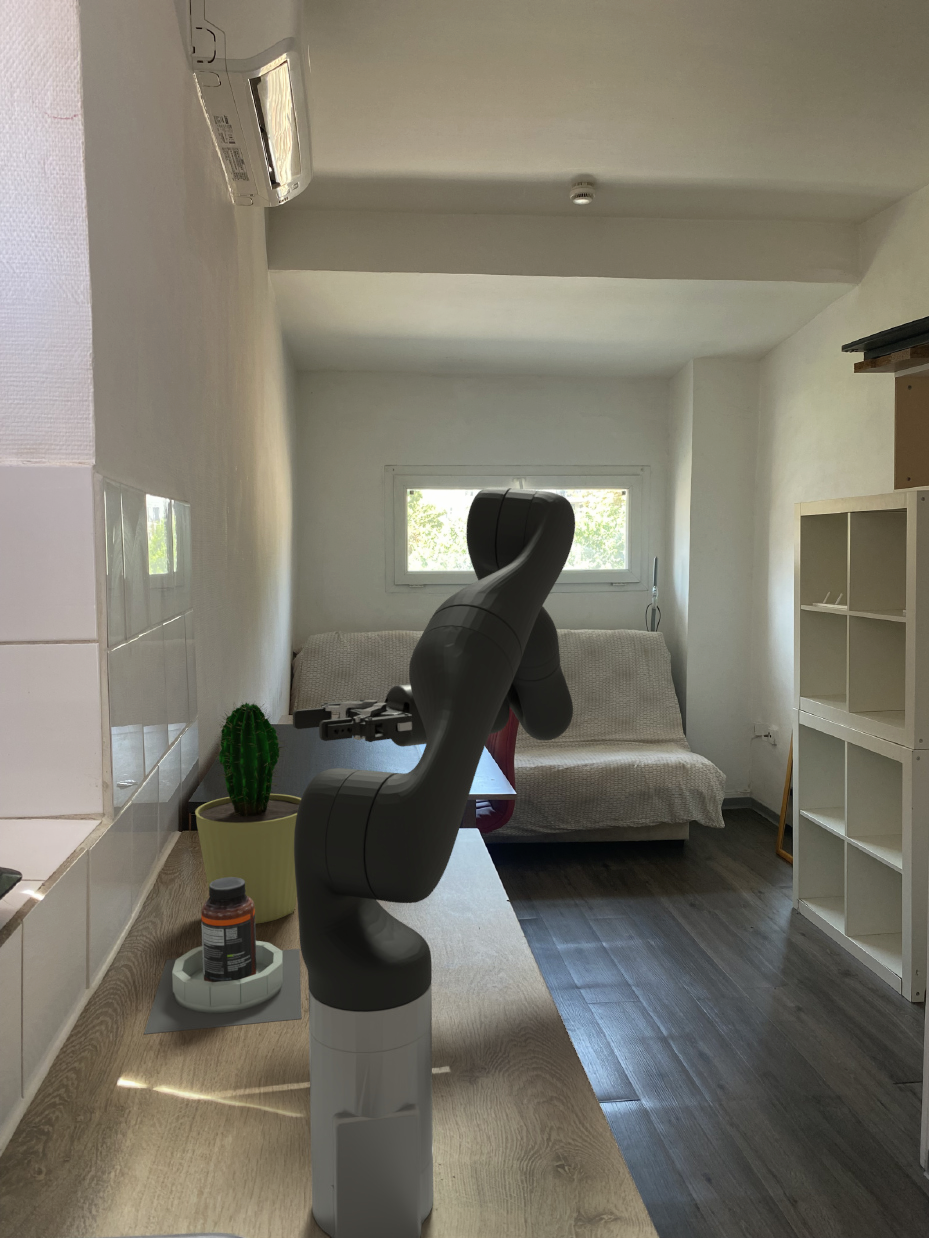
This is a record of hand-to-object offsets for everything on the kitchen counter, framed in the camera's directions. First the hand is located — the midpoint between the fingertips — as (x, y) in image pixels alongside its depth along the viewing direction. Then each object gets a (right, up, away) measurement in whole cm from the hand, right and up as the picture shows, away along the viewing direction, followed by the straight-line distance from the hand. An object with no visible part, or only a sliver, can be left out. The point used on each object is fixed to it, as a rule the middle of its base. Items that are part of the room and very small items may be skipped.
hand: (306, 725), depth 106 cm
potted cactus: (-11, -29, +23) cm, 38 cm away
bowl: (-9, -30, -1) cm, 31 cm away
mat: (-9, -30, -1) cm, 31 cm away
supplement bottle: (-9, -29, -1) cm, 30 cm away
